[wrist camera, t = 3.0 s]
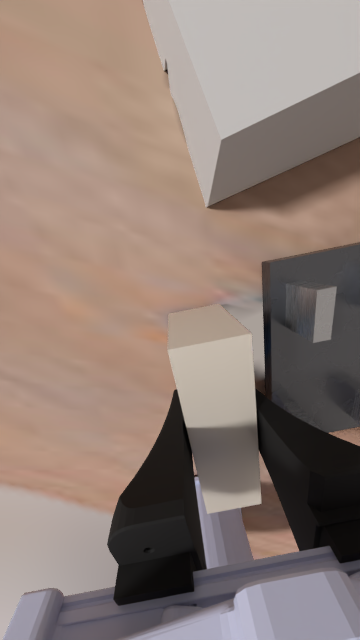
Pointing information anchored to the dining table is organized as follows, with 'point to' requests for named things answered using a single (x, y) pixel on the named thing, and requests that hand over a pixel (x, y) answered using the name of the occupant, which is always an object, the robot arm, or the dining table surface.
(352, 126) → the long grey wedge ramp
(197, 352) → the cream rectangular block
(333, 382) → the rack
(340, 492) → the robot arm
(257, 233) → the dining table surface
